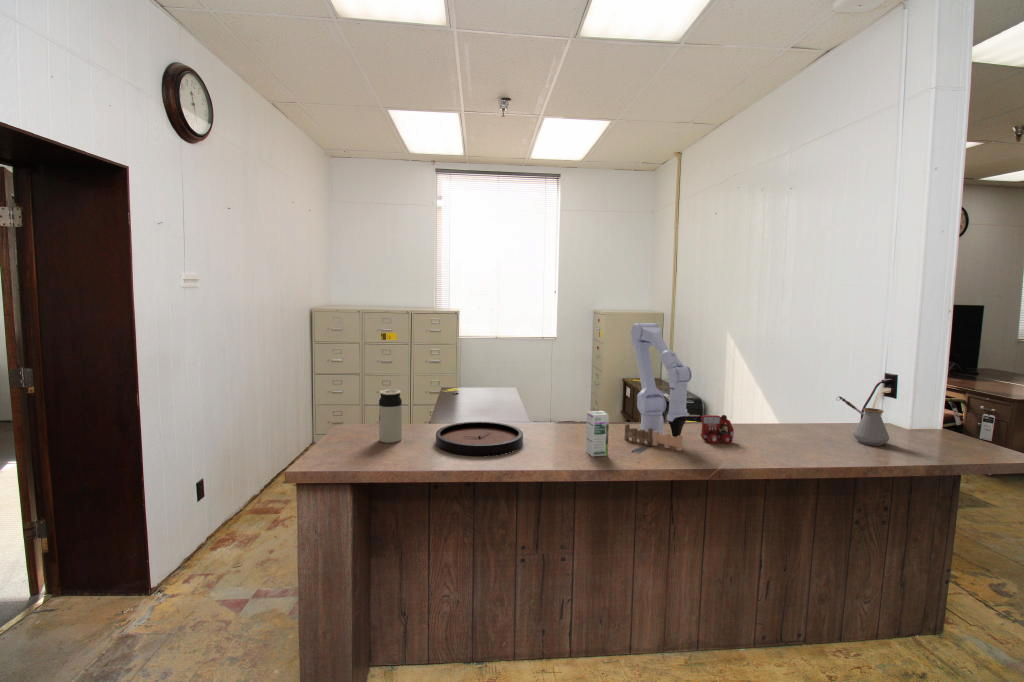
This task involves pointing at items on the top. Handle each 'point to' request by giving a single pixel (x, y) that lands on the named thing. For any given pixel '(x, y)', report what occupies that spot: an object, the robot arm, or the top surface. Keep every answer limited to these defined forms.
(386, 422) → the travel mug
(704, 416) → the toy fire truck
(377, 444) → the top surface
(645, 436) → the fixed fence section
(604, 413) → the syrup box
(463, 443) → the wall clock
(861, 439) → the coffee pot
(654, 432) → the folding fence panel
